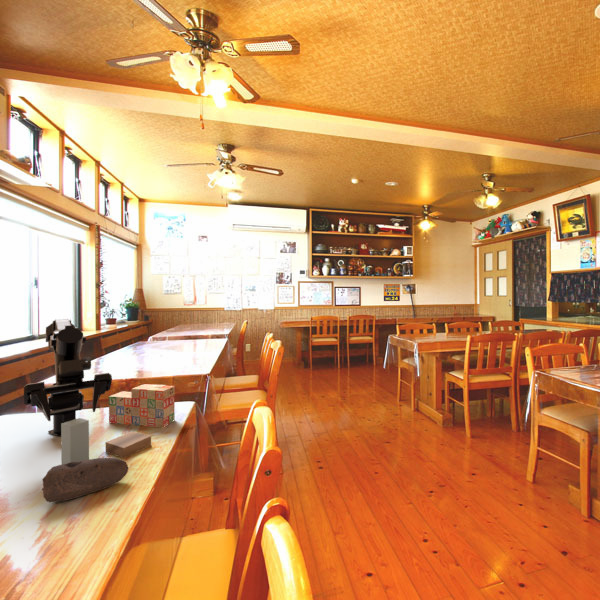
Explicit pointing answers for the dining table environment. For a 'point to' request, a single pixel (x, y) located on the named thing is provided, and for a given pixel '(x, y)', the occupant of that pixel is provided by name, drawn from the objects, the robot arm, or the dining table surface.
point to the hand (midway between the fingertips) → (72, 415)
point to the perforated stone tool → (82, 478)
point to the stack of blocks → (143, 406)
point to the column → (74, 441)
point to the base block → (128, 444)
